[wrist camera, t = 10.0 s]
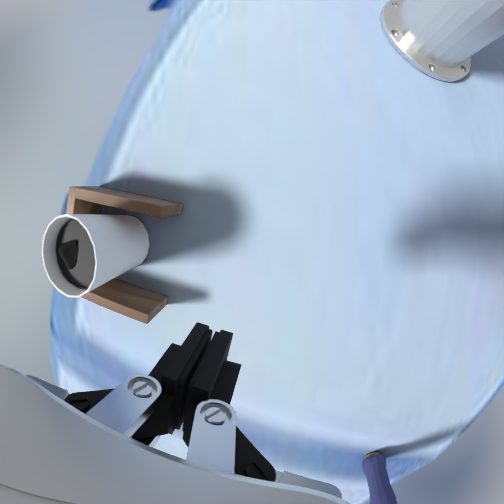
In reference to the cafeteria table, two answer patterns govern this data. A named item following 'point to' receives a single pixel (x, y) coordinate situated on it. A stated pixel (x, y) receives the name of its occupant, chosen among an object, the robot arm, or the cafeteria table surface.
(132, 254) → the white paper cup
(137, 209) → the box
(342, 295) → the cafeteria table surface
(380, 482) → the rubber mallet
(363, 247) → the cafeteria table surface
